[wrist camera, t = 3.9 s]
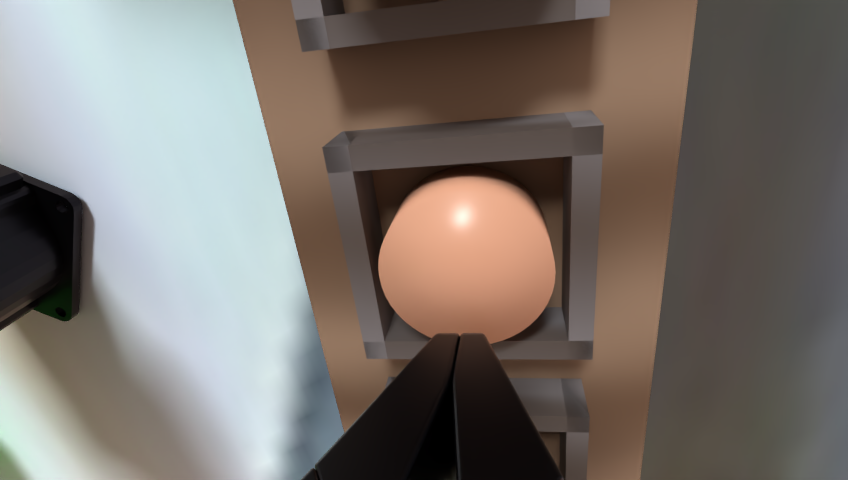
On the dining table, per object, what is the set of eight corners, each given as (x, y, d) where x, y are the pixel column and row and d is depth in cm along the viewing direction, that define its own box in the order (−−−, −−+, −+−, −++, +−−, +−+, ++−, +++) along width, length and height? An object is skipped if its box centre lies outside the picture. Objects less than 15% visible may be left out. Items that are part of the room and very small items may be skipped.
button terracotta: (548, 303, 13) (555, 345, 11) (404, 305, 14) (391, 345, 12) (547, 160, 11) (556, 186, 10) (383, 171, 12) (365, 197, 10)
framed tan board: (609, 454, 21) (642, 592, 16) (389, 446, 23) (359, 568, 18) (677, -430, 10) (855, -862, 5) (233, -311, 12) (40, -540, 7)
